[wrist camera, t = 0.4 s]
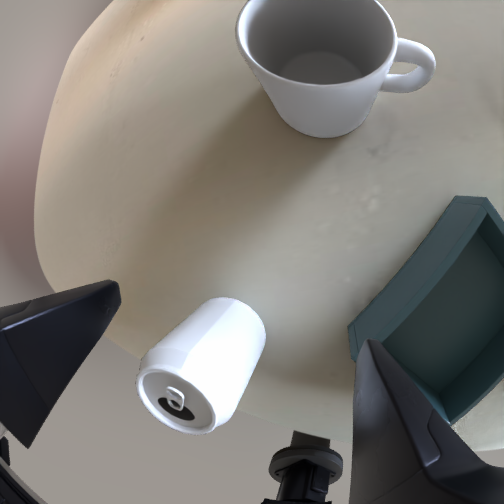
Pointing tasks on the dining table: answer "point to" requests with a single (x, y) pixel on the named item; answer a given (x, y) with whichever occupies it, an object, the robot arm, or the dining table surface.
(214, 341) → the can
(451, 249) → the box
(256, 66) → the mug
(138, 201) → the dining table surface
